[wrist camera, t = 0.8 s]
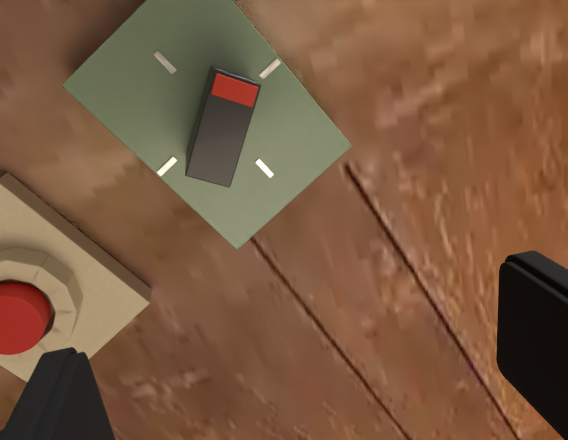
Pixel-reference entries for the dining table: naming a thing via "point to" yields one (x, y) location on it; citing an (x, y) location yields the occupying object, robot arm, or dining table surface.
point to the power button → (21, 317)
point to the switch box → (63, 278)
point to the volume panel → (185, 103)
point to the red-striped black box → (221, 126)
